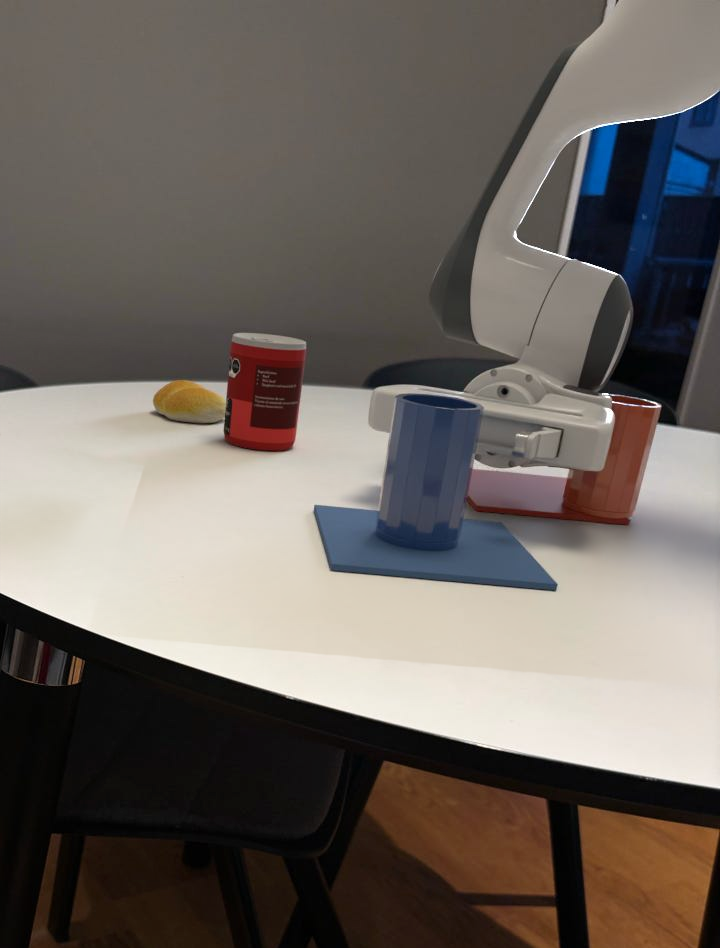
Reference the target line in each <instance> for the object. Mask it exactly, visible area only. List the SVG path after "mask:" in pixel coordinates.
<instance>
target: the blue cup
mask: <svg viewBox="0 0 720 948" xmlns="http://www.w3.org/2000/svg"><path fill="white" fill-rule="evenodd" d="M483 411H484V407H483V406H482V405H481V404H478V403H475V402H472V401H468V400H464V399H459V398H453V397H447V396H440V395H431V394H416V393H407V394H399V395H396V396H395V401H394V408H393V414H392V421H391V427H390V433H388V434H389V435H388V441H387V448H386V453H385V461H384V467H383V474H382V481H381V486H380V493H379V500H378V506H377V510H378V513H377V519H376V530H375V534H376V535H377V536H378V537H379V538H380V539H382V540H384V541H386V542H388V543H391V544H394V545H397V546H401V547H406V548H411V549H417V550H428V551H442V550H449V549H453V548H455V547H456V546H457V545H458V540H459V537H460V534H461V529H462V523H463V518H464V519H465V512H466V506H467V503H468V501H467V496H468V491H469V486H470V480H471V475H472V470H473V469H474V465H475V464H474V463H475V453H476V448H477V443H478V437H479V432H480V427H481V421H482V416H483Z"/></svg>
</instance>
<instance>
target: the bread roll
mask: <svg viewBox="0 0 720 948" xmlns="http://www.w3.org/2000/svg"><path fill="white" fill-rule="evenodd" d="M152 405H153V407H154V409H155V411H156V412H157V413H158V414H160V415H162V416H165V417H166V418H167V419H169V420H172V421H176V422H182V423H191V424H214V423H218V422H220V421H222V420H225V408H226V399H225V398H224V397H223V396H222V395H220V394H219V393H216V392H215V391H212V390H210V389H207V388H205V386H203V385H200V384H199V383H196V382H194V381H192V380H191V381H190V380H185V379H179V380H173V381H170V382H169V383H166V384H165V385H164V386H162V387H161V388H159V390H157V392H155V394H154V395H153V399H152Z"/></svg>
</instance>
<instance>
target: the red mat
mask: <svg viewBox="0 0 720 948" xmlns="http://www.w3.org/2000/svg"><path fill="white" fill-rule="evenodd" d="M566 482H567V477H563V476H552V475H543V474H532V473H531V474H530V473H521V472H520V473H519V472H512V471H502V470H501V471H499V470H491V469H490V470H489V469H478V468H473V470H472V475H471V480H470V486H469V491H468V496H467V503H469V504H470V505H471V507H472V508H473V509H474V511H476V512H485V513H496V514H507V515H517V516H528V517H537V518H538V517H539V518H550V519H557V520H558V519H560V520H570V521H580V522H581V521H582V522H591V523H602V524H612V525H624V526H629V525H630V522H631V519H630V518H625V519H613V518H603V517H597V516H592V515H587V514H583V513H580V512H576V511H573V510H571V509H569V508H567V507H565V506H564V505H563V504H562V500H563V495H564V490H565V486H566Z"/></svg>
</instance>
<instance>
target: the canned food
mask: <svg viewBox="0 0 720 948" xmlns="http://www.w3.org/2000/svg"><path fill="white" fill-rule="evenodd" d="M306 353H307V342H306V341H305V340H303V339H300V338H295V337H290V336H284V335H277V334H269V333H268V334H267V333H258V332H257V333H256V332H236V333H233V334H232V338H231V342H230V351H229V362H228V372H227V373H228V374H227V387H226V397H225V402H226V408H225V418H224V419H223V420H224V422H223V436H224V440H225V441H226V442H227V443H228V444H230V445H232V446H234V447H235V446H236V447H238V448H243V449H249V450H256V451H263V452H264V451H265V452H282V451H288V450H290V449H292V448H293V447H294V445H295V442H296V439H297V429H298V422H299V414H300V412H299V411H300V405H301V398H302V397H301V396H302V389H303V380H304V372H305V363H306Z"/></svg>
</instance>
